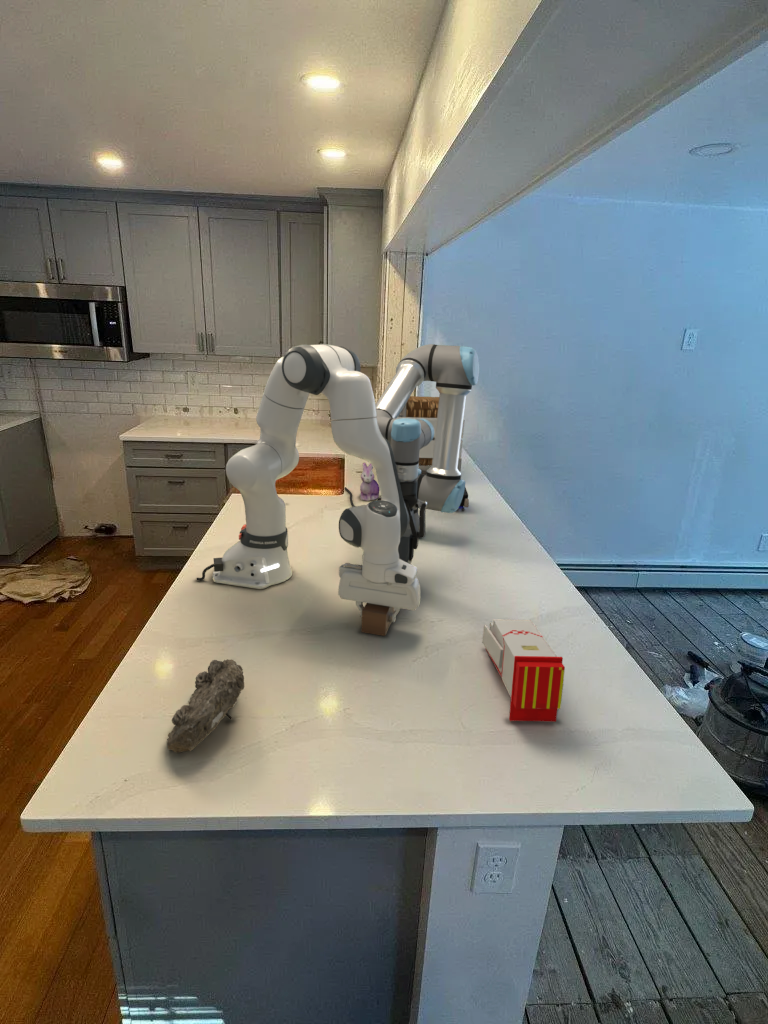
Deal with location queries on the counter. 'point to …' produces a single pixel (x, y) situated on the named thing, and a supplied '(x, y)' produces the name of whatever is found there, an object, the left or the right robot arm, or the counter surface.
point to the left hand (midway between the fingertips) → (378, 618)
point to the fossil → (206, 705)
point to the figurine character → (464, 500)
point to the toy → (526, 669)
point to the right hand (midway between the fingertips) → (399, 556)
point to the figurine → (368, 484)
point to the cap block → (405, 546)
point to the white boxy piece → (429, 411)
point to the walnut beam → (376, 619)
